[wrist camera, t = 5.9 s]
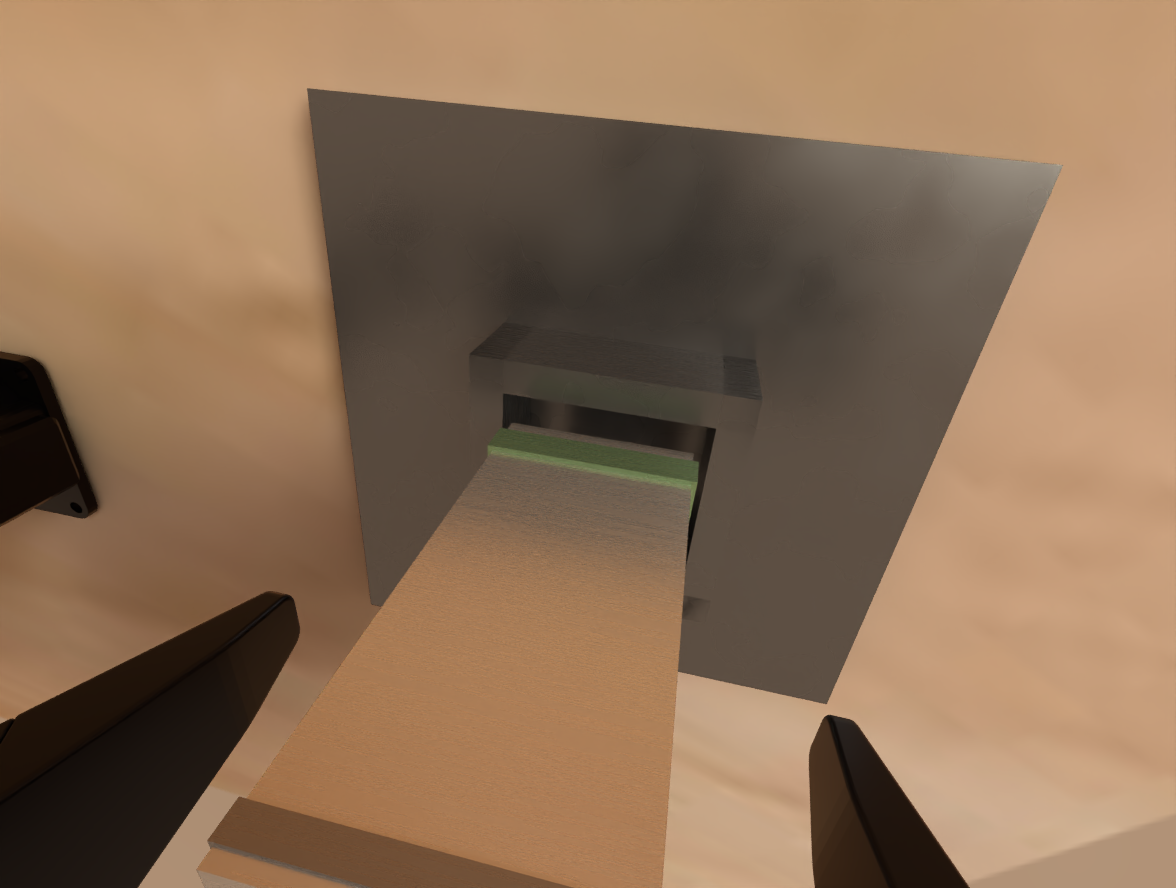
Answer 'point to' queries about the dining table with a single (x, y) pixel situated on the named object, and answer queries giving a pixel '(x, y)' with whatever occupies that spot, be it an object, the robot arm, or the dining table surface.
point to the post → (497, 694)
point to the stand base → (668, 337)
